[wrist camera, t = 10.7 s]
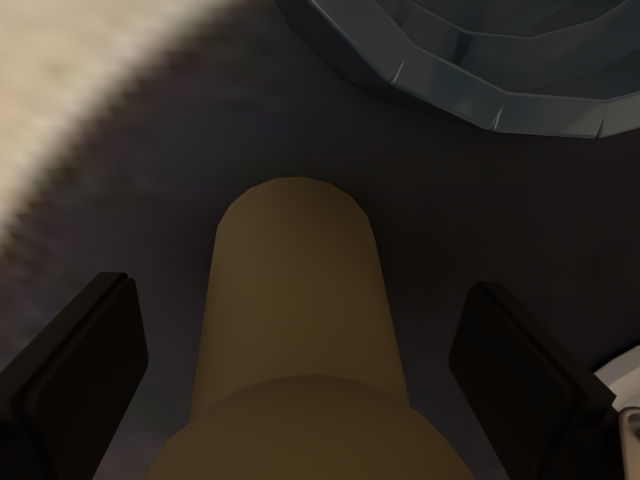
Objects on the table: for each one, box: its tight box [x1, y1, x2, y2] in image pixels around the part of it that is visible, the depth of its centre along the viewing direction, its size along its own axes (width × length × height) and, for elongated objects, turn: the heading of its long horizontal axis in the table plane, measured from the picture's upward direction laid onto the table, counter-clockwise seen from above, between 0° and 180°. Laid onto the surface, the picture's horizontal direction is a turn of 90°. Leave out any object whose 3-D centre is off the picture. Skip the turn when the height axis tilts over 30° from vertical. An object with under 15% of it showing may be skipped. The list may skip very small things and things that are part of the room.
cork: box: [141, 176, 476, 480], centre depth 8 cm, size 6×6×11 cm
